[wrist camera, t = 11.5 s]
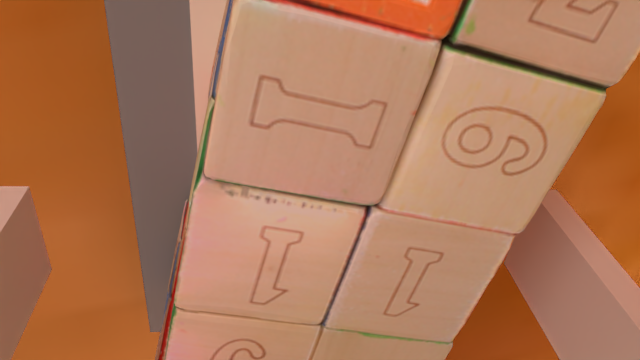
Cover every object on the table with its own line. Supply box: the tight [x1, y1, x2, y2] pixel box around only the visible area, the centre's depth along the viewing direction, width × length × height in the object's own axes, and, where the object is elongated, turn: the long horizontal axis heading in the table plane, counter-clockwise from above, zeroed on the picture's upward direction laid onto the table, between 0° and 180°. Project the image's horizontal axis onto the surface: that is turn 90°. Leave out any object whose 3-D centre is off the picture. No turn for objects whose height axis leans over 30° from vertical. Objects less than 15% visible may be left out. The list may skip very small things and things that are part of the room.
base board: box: [104, 0, 227, 332], centre depth 22 cm, size 27×13×2 cm, turn 175°
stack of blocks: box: [155, 0, 640, 360], centre depth 16 cm, size 21×6×12 cm, turn 163°
